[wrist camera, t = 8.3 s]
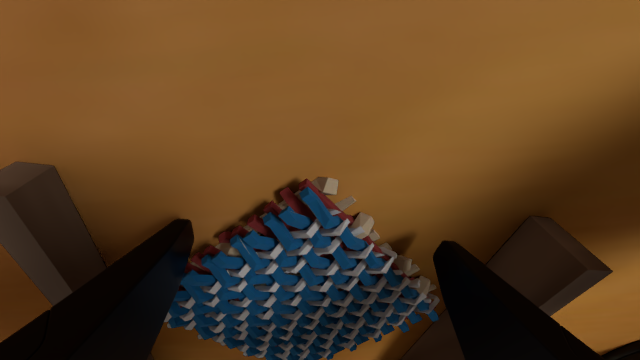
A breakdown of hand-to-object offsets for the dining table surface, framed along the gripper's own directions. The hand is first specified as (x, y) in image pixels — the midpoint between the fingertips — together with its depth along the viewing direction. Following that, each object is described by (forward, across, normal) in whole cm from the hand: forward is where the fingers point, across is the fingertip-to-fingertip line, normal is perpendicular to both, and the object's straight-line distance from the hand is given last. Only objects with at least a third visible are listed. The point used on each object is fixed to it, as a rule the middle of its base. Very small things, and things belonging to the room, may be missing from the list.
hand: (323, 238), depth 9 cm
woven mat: (+2, 0, +5) cm, 5 cm away
